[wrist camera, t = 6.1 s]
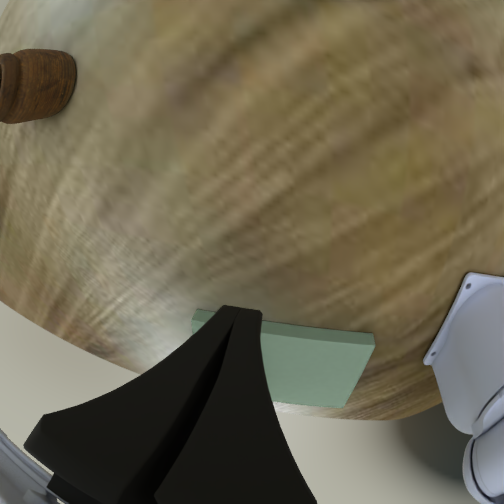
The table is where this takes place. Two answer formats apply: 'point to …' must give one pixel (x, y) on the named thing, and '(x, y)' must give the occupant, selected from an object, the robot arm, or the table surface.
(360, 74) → the table surface
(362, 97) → the table surface
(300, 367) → the green knob panel
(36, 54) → the utensil holder
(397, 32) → the table surface
